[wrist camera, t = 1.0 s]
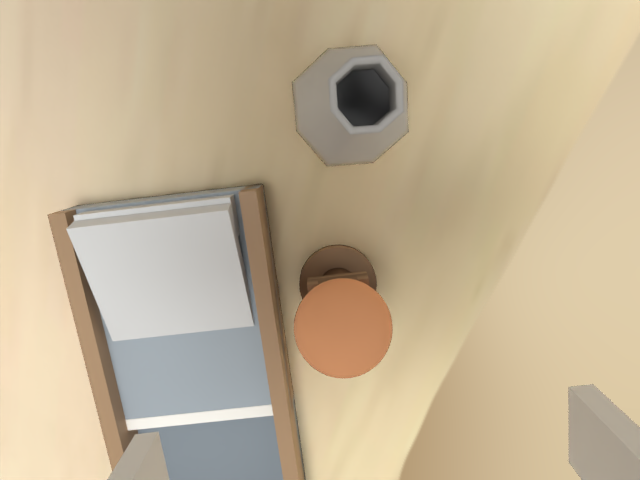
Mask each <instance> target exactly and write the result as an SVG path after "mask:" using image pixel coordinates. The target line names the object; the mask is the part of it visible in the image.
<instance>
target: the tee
mask: <svg viewBox="0 0 640 480" xmlns="http://www.w3.org/2000/svg"><path fill="white" fill-rule="evenodd" d="M337 278H348V279H354V280H358V281H360V282H363V283H365V284H367V285H368V286H370V287H371V288H373V289H374V290H375V291H376V286H377V284H376V276H375V273H374V270H373V267H372V265H371V263H370V262H369V260H368V259H367V258H366V257H365V256H364V255H363V254H362V253H361V252H359V251H358V250H356V249H354V248H352V247H349V246H344V245H332V246H327V247H324V248H322V249H320V250H318V251H316V252H315V253H314V254H312V255H311V256H310V257H309V258H308V260H307V261H306V262H305V264H304V266H303V268H302V271H301V276H300V293H301V296H302V299H303V298H304V297H305V296H306V295H307V294H308V293H309V291H310V290H312V289H313V288H314V287H316V286H317V285H319V284H321V283H323V282H325V281H328V280H332V279H337Z"/></svg>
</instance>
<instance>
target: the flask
mask: <svg viewBox="0 0 640 480" xmlns="http://www.w3.org/2000/svg"><path fill="white" fill-rule="evenodd" d="M292 86H293V97H294V109H295V121H296V131H297V132H298V133H299V135H300V136H301V137H302V138H303V139H304V140H305V142H306V143H307V144H308V145H309V146H310V147H311V148H312V150H313V151H314V152H315V153H316V154H317V155H318V157H319V158H320V159H321V160H322V161H323V162H324V163H325V165H326V166H338V165H351V164H364V163H373V162H374V161H375V160H377V159H378V158H379V157H380V156H381V155H382V154H384V153H385V152H386V151H387V150H388V149H389V148H390V147H392V146H393V145H394V144H395V143H396V142H397V141H399V140H400V139H401V138H402V137H403V136H404V135H405V134H407V133H408V132H409V129H408V98H407V82H406V81H405V80H404V79H403V77H402V76H401V75H400V74H399V72H398V71H397V70H396V68H395V67H394V66H393V65H392V63H391V62H390V61H389V60H388V58H387V57H386V56H385V55H384V53H383V52H382V51H381V50H380V48H379V47H378V46H377V45H366V46H354V47H342V48H330V49H327V50H326V51H325V52H324V53H323V54H322V55H321V56H320V57H319V58H318V59H317V60H315V61H314V62H313V63H312V64H311V65H310V66H309V67H308V68H307V69H306V70H305V71H304V72H303V73H301V74H300V75H299V76H298V77H297V78H296V79H295V80H294V81H293V82H292Z"/></svg>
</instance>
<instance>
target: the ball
mask: <svg viewBox="0 0 640 480" xmlns="http://www.w3.org/2000/svg"><path fill="white" fill-rule="evenodd" d="M294 335H295V340H296V343H297V346H298V349H299V351H300V353H301V354H302V356H303V357H304V359H305V360H306V361H307V362H308V363H309V364H310V365H311V366H312V367H313V368H314V369H316V370H317V371H319V372H321V373H323V374H325V375H328V376H331V377H335V378H352V377H356V376H360V375H362V374H365V373H366V372H368V371H370V370H371V369H373V368H374V367H375V366H376V365H377V364H378V363H379V362H380V361H381V360H382V359H383V357H384V356H385V354H386V352H387V350H388V348H389V346H390V342H391V338H392V319H391V315H390V312H389V309H388V307H387V305H386V303H385V302H384V300H383V298H382V297H381V296H380V295H379V294H378V293H377V292H376V291H375V290H374V289H373V288H371V287H370V286H368V285H367V284H365V283H363V282H360V281H358V280H354V279H348V278H337V279H332V280H328V281H325V282H323V283H321V284H319V285H317V286H316V287H314V288H313V289H312V290H310V291H309V293H308V294H307V295H306V296H305V297H304V298H303V300H302V301H301V303H300V305H299V307H298V309H297V312H296V316H295V320H294Z"/></svg>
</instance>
